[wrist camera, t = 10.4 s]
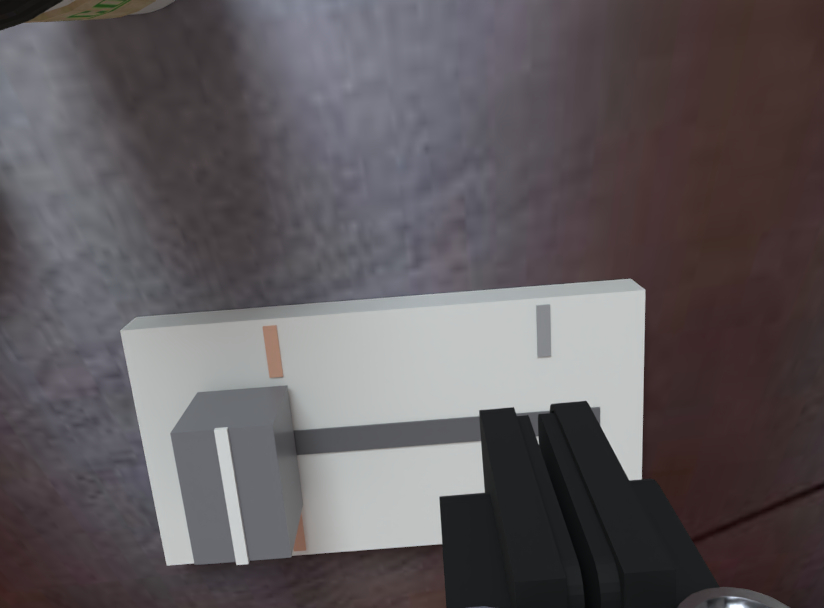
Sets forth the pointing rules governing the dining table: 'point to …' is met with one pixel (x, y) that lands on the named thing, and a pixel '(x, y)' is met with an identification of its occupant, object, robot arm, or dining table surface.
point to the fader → (239, 475)
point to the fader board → (392, 394)
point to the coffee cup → (72, 10)
